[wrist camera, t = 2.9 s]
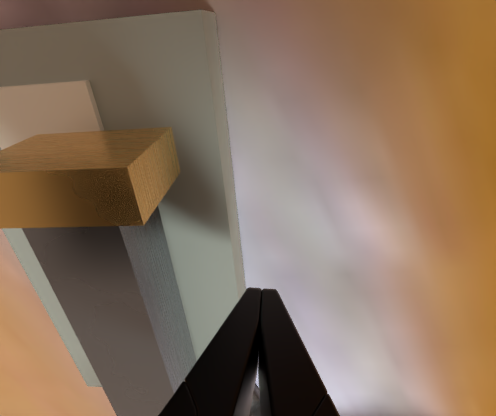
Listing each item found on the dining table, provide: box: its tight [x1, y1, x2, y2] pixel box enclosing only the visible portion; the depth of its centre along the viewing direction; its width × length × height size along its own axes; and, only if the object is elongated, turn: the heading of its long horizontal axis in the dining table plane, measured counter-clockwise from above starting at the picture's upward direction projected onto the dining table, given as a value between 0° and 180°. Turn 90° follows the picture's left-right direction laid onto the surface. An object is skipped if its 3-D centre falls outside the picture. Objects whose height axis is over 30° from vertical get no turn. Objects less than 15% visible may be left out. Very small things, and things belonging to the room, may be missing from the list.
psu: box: [0, 9, 246, 387], centre depth 12 cm, size 15×8×2 cm, turn 5°
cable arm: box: [0, 127, 197, 416], centre depth 11 cm, size 18×4×3 cm, turn 5°
